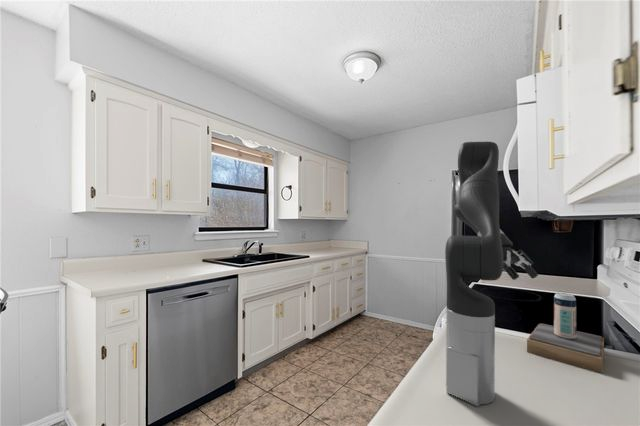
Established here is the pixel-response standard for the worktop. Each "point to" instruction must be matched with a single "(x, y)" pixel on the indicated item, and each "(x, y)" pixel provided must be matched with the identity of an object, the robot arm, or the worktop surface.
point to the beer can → (565, 315)
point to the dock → (568, 347)
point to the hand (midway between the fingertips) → (526, 277)
